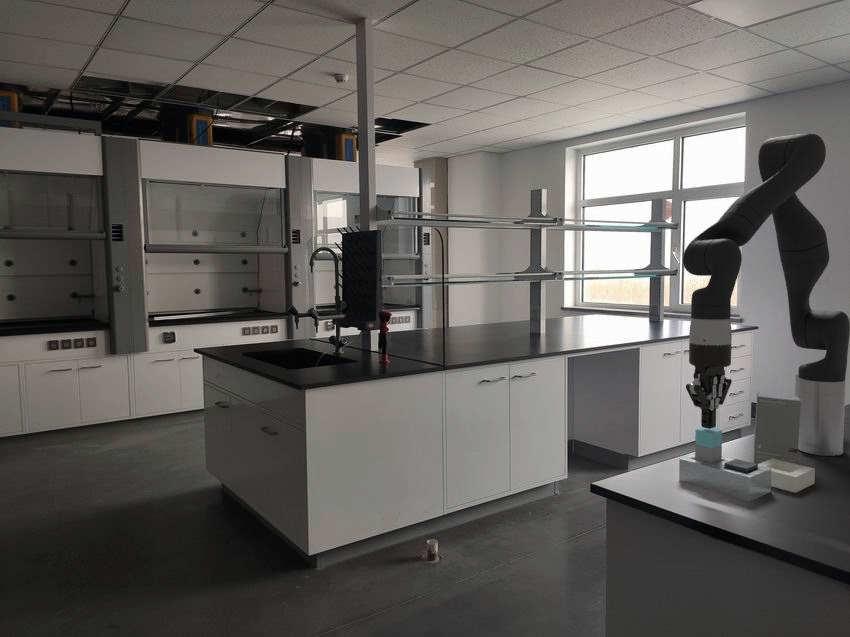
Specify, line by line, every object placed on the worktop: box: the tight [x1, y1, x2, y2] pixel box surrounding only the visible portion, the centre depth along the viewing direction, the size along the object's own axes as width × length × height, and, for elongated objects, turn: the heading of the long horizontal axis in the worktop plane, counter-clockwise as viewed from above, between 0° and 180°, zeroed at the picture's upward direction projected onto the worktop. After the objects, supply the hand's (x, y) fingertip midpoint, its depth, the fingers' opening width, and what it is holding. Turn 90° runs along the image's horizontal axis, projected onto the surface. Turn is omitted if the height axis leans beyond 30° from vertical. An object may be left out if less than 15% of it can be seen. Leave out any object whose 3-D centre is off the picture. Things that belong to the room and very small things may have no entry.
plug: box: [694, 426, 723, 465], centre depth 119 cm, size 4×4×11 cm
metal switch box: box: [678, 453, 772, 502], centre depth 117 cm, size 8×14×6 cm, turn 35°
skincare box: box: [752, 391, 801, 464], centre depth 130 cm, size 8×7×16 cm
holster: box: [758, 459, 816, 493], centre depth 118 cm, size 8×8×4 cm
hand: (708, 427), depth 119 cm, fingers closed
